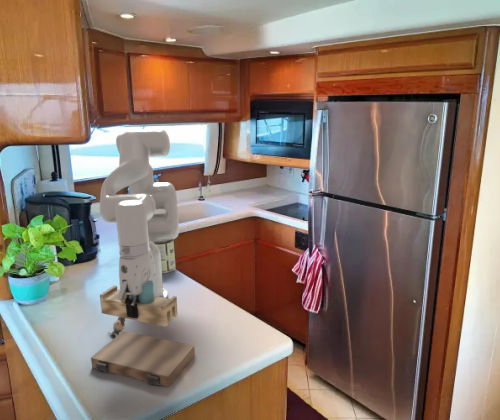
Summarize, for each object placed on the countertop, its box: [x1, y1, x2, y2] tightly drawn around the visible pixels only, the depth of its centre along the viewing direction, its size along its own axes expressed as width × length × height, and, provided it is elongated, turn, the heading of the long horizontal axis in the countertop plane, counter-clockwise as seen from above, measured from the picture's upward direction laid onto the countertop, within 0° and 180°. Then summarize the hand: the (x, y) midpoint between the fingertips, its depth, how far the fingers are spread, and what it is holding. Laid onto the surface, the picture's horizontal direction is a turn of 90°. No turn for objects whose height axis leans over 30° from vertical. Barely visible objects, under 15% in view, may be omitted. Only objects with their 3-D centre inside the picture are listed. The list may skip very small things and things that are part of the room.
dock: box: [90, 330, 196, 388], centre depth 113 cm, size 24×15×3 cm, turn 70°
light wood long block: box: [99, 285, 178, 327], centre depth 109 cm, size 20×6×6 cm, turn 70°
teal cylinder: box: [138, 281, 154, 304], centre depth 107 cm, size 4×4×5 cm
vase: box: [107, 317, 126, 337], centre depth 127 cm, size 5×5×6 cm
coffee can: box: [152, 239, 176, 274], centre depth 174 cm, size 10×10×14 cm
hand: (140, 310), depth 110 cm, fingers closed on light wood long block, 6 cm apart
